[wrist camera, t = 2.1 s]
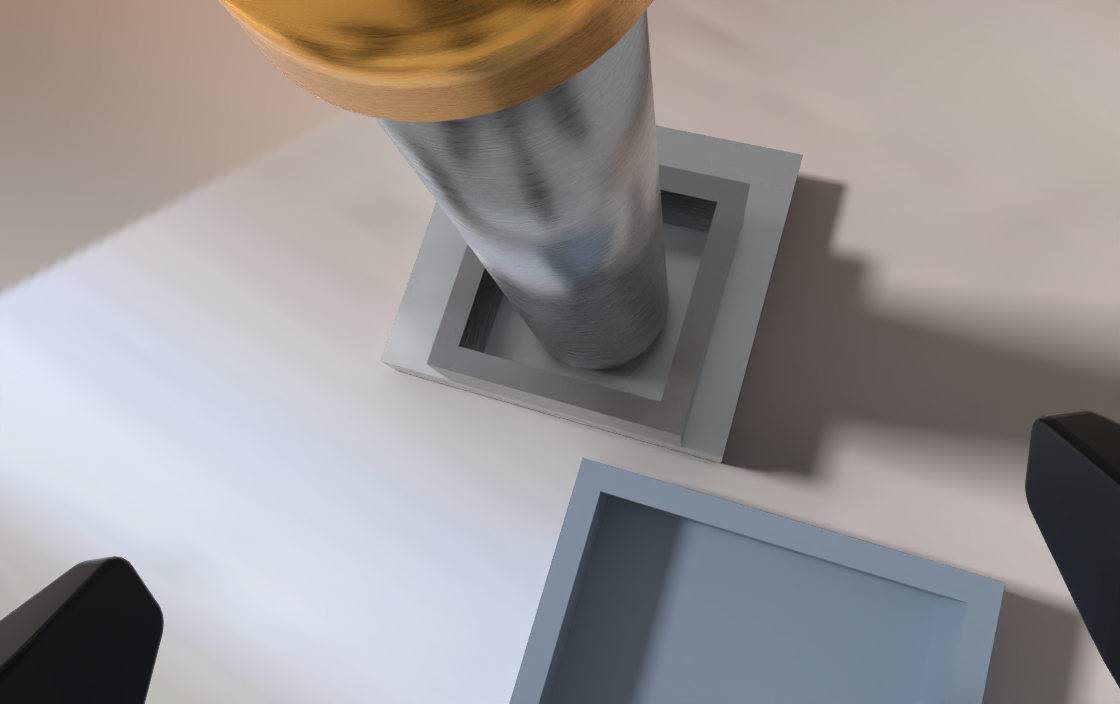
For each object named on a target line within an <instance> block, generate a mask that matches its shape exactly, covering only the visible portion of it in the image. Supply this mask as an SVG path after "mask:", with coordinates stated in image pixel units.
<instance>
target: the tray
mask: <svg viewBox="0 0 1120 704" xmlns="http://www.w3.org/2000/svg"><path fill="white" fill-rule="evenodd" d="M1004 586H1005V583H1004V582H1001V581H997V580H994V579H991V578H987V577H984V576H981V575H977V574H974V573H970V572H967V571H964V570H960V569H957V568H954V567H950V566H947V565H943V564H940V563H937V562H933V561H930V560H926V559H923V558H920V557H916V556H913V555H910V554H906V553H903V552H899V551H896V550H893V549H889V548H886V547H883V546H879V545H876V544H872V543H869V542H866V541H862V540H859V539H856V538H852V537H849V536H845V535H842V534H839V533H835V532H832V531H828V530H825V529H822V528H818V527H815V526H812V525H808V524H805V523H801V522H798V521H795V520H791V519H788V518H785V517H781V516H778V515H774V514H771V513H768V512H764V511H761V510H757V509H754V508H751V507H747V506H744V505H741V504H737V503H734V502H730V501H727V500H724V499H720V498H717V497H714V496H710V495H707V494H703V493H700V492H697V491H693V490H690V489H686V488H683V487H680V486H676V485H673V484H670V483H666V482H663V481H659V480H656V479H653V478H649V477H646V476H643V475H639V474H636V473H632V472H629V471H626V470H622V469H619V468H615V467H612V466H609V465H605V464H602V463H599V462H595V461H592V460H588V459H585V458H582V462H581V465H580V469H579V472H578V475H577V479H576V482H575V485H574V489H573V492H572V495H571V499H570V502H569V505H568V509H567V512H566V516H565V519H564V522H563V526H562V529H561V532H560V536H559V539H558V542H557V546H556V549H555V553H554V556H553V559H552V563H551V566H550V569H549V573H548V576H547V579H546V583H545V586H544V589H543V593H542V596H541V600H540V603H539V606H538V610H537V613H536V616H535V620H534V623H533V626H532V630H531V633H530V636H529V640H528V643H527V647H526V650H525V653H524V657H523V660H522V663H521V667H520V670H519V673H518V677H517V680H516V684H515V687H514V690H513V694H512V697H511V700H510V704H982V700H983V695H984V690H985V684H986V679H987V674H988V669H989V664H990V659H991V653H992V648H993V643H994V638H995V633H996V628H997V622H998V617H999V612H1000V607H1001V602H1002V597H1003V591H1004Z"/></svg>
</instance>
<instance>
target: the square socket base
mask: <svg viewBox="0 0 1120 704" xmlns="http://www.w3.org/2000/svg"><path fill="white" fill-rule="evenodd" d="M656 140H657V153H658V166H659V179H660V192H661V205H662V218H663V231H664V245H665V258H666V271H667V284H668V299H669V300H668V310H667V315H666V318H665V321H664V324H663V326H662V328H661V330H660V332H659V334H658V336H657V337H656V338H655V340H654V341H653V342H652V344H651V345H650V346H649V347H648V348H647V349H646V350H645V351H643V352H642V353H641V354H640V355H638V356H637V357H635V358H634V359H632V360H630V361H628V362H626V363H624V364H622V365H618V366H615V367H611V368H606V369H584V368H579V367H575V366H572V365H569V364H567V363H565V362H563V361H561V360H559V359H558V358H556V357H555V356H553V355H552V354H551V353H550V352H548V351H547V350H546V349H545V348H544V347H543V345H542V344H541V343H540V342H539V340H538V339H537V338H536V336H535V335H534V334H533V332H532V331H531V330H530V328H529V327H528V325H527V324H526V323H525V321H524V320H523V319H522V317H521V316H520V315H519V313H518V312H517V310H516V309H515V308H514V306H513V305H512V304H511V302H510V301H509V300H508V298H507V297H506V295H505V294H504V293H503V291H502V290H501V289H500V287H499V286H498V285H497V283H496V282H495V280H494V279H493V278H492V276H491V275H490V274H489V272H488V271H487V269H486V268H485V267H484V265H483V264H482V263H481V261H480V260H479V259H478V257H477V256H476V254H475V253H474V252H473V250H472V249H471V248H470V246H469V245H468V244H467V242H466V241H465V239H464V238H463V237H462V235H461V234H460V233H459V231H458V230H457V229H456V227H455V226H454V224H453V223H452V222H451V220H450V219H449V218H448V216H447V215H446V214H445V212H444V211H443V209H442V208H441V207H440V205H439V204H438V203H437V202H436V205H435V208H434V211H433V214H432V216H431V219H430V222H429V225H428V228H427V231H426V233H425V236H424V239H423V242H422V245H421V248H420V251H419V253H418V256H417V259H416V262H415V265H414V268H413V270H412V273H411V276H410V279H409V282H408V285H407V287H406V290H405V293H404V296H403V299H402V302H401V304H400V307H399V310H398V313H397V316H396V319H395V321H394V324H393V327H392V330H391V333H390V336H389V338H388V341H387V344H386V347H385V350H384V353H383V355H382V358H381V362H383V363H385V364H386V365H388V366H390V367H391V368H393V369H395V370H397V371H400V372H403V373H407V374H410V375H414V376H417V377H421V378H424V379H428V380H431V381H435V382H438V383H442V384H445V385H449V386H452V387H456V388H459V389H463V390H466V391H470V392H473V393H477V394H480V395H484V396H487V397H491V398H494V399H498V400H501V401H505V402H508V403H512V404H515V405H519V406H522V407H526V408H529V409H533V410H536V411H540V412H543V413H547V414H550V415H553V416H557V417H560V418H564V419H567V420H571V421H574V422H578V423H581V424H585V425H588V426H592V427H595V428H599V429H602V430H606V431H609V432H613V433H616V434H620V435H623V436H627V437H630V438H634V439H637V440H641V441H644V442H648V443H651V444H655V445H658V446H662V447H665V448H669V449H672V450H676V451H679V452H683V453H686V454H690V455H693V456H697V457H700V458H704V459H707V460H711V461H714V462H718V463H721V461H722V458H723V454H724V451H725V447H726V443H727V439H728V436H729V432H730V428H731V424H732V420H733V417H734V413H735V409H736V405H737V402H738V398H739V394H740V390H741V387H742V383H743V379H744V375H745V371H746V368H747V364H748V360H749V356H750V353H751V349H752V345H753V341H754V337H755V334H756V330H757V326H758V322H759V319H760V315H761V311H762V307H763V304H764V300H765V296H766V292H767V288H768V285H769V281H770V277H771V273H772V270H773V266H774V262H775V258H776V254H777V251H778V247H779V243H780V239H781V236H782V232H783V228H784V224H785V221H786V217H787V213H788V209H789V205H790V202H791V198H792V194H793V190H794V187H795V183H796V179H797V175H798V171H799V168H800V164H801V160H802V156H803V155H800V154H795V153H790V152H785V151H780V150H775V149H770V148H765V147H760V146H755V145H750V144H745V143H740V142H735V141H730V140H725V139H720V138H715V137H710V136H705V135H700V134H695V133H690V132H685V131H680V130H675V129H670V128H665V127H660V126H656Z"/></svg>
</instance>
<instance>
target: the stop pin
mask: <svg viewBox="0 0 1120 704" xmlns="http://www.w3.org/2000/svg"><path fill="white" fill-rule="evenodd" d="M652 1H653V0H219V2H220V3H221V4H222V5H223V6H224V7H225V8H226V9H227V11H228V12H229V13H230V14H231V15H232V17H233V18H234V19H235V20H236V21H237V22H238V23H239V25H240V26H241V27H242V28H243V29H244V30H245V32H246V33H247V34H248V35H249V36H250V37H251V39H252V40H253V41H254V42H255V43H256V44H257V46H259V48H260V49H261V50H262V51H263V52H264V54H265V55H266V56H267V57H268V58H269V59H270V61H271V62H272V63H273V64H274V65H275V66H276V67H277V68H278V69H279V70H281V71H282V72H283V73H284V74H285V75H286V76H287V77H288V78H290V79H291V80H292V81H293V82H294V83H296V84H297V85H299V86H300V87H302V88H304V89H305V90H307V91H308V92H310V93H311V94H313V95H314V96H316V97H318V98H320V99H322V100H324V101H327V102H329V103H331V104H333V105H335V106H338V107H340V108H342V109H345V110H349V111H352V112H356V113H359V114H363V115H366V116H370V117H375V118H376V119H377V121H378V122H379V123H380V125H381V126H382V128H383V129H384V130H385V132H386V133H387V134H388V136H389V137H390V138H391V140H392V141H393V143H394V144H395V145H396V147H397V148H398V149H399V151H400V152H401V153H402V155H403V156H404V158H405V159H406V160H407V162H408V163H409V164H410V166H411V167H412V168H413V170H414V171H415V173H416V174H417V175H418V177H419V178H420V179H421V181H422V182H423V184H424V185H425V186H426V188H427V189H428V190H429V192H430V193H431V194H432V196H433V197H434V199H435V200H436V201H437V203H438V204H439V205H440V207H441V208H442V209H443V211H444V212H445V214H446V215H447V216H448V218H449V219H450V220H451V222H452V223H453V224H454V226H455V227H456V229H457V230H458V231H459V233H460V234H461V235H462V237H463V238H464V239H465V241H466V242H467V244H468V245H469V246H470V248H471V249H472V250H473V252H474V253H475V254H476V256H477V257H478V259H479V260H480V261H481V263H482V264H483V265H484V267H485V268H486V269H487V271H488V272H489V274H490V275H491V276H492V278H493V279H494V280H495V282H496V283H497V285H498V286H499V287H500V289H501V290H502V291H503V293H504V294H505V295H506V297H507V298H508V300H509V301H510V302H511V304H512V305H513V306H514V308H515V309H516V310H517V312H518V313H519V315H520V316H521V317H522V319H523V320H524V321H525V323H526V324H527V325H528V327H529V328H530V330H531V331H532V332H533V334H534V335H535V336H536V338H537V339H538V340H539V342H540V343H541V344H542V345H543V347H544V348H545V349H546V350H547V351H548V352H550V353H551V354H552V355H553V356H555V357H556V358H558V359H559V360H561V361H563V362H565V363H567V364H569V365H572V366H575V367H579V368H584V369H606V368H611V367H615V366H618V365H622V364H624V363H626V362H628V361H630V360H632V359H634V358H635V357H637V356H638V355H640V354H641V353H642V352H643V351H645V350H646V349H647V348H648V347H649V346H650V345H651V344H652V342H653V341H654V340H655V338H656V337H657V336H658V334H659V332H660V330H661V328H662V326H663V324H664V321H665V318H666V315H667V310H668V300H669V299H668V284H667V271H666V258H665V245H664V231H663V218H662V205H661V192H660V179H659V166H658V153H657V140H656V126H655V113H654V100H653V87H652V74H651V61H650V48H649V34H648V21H647V8H648V7H649V5H650V4H651V3H652Z"/></svg>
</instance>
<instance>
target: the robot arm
mask: <svg viewBox="0 0 1120 704" xmlns="http://www.w3.org/2000/svg"><path fill="white" fill-rule="evenodd" d="M1025 491H1026V497H1027V502H1028V505H1029V508H1030V510H1031V512H1032V515H1033V517H1034V519H1035V521H1036V523H1037V525H1038V527H1039V529H1040V531H1041V533H1042V535H1043V538H1044V540H1045V542H1046V544H1047V546H1048V548H1049V550H1050V552H1051V554H1052V556H1053V558H1054V560H1055V563H1056V565H1057V567H1058V569H1059V571H1060V573H1061V575H1062V577H1063V579H1064V581H1065V583H1066V585H1067V588H1068V590H1069V592H1070V594H1071V596H1072V598H1073V600H1074V602H1075V604H1076V606H1077V608H1078V610H1079V613H1080V615H1081V617H1082V619H1083V621H1084V623H1085V625H1086V627H1087V629H1088V631H1089V633H1090V635H1091V637H1092V639H1093V641H1094V643H1095V645H1096V647H1097V649H1098V651H1099V653H1100V655H1101V657H1102V659H1103V661H1104V662H1105V664H1106V666H1107V668H1108V669H1109V671H1110V673H1111V674H1112V676H1113V678H1114V679H1115V681H1116V683H1117V685H1118V686H1119V688H1120V423H1118V422H1116V421H1113V420H1111V419H1109V418H1106V417H1104V416H1102V415H1099V414H1097V413H1094V412H1092V411H1089V410H1074V411H1067V412H1061V413H1054V414H1048V415H1043V416H1041V417H1039V418H1038V419H1037V420H1036V421H1035V423H1034V425H1033V428H1032V431H1031V439H1030V447H1029V456H1028V464H1027V472H1026V480H1025ZM163 624H164V621H163V614H162V611H161V608H160V606H159V604H158V603H157V601H156V600H155V598H154V597H153V595H152V594H151V592H150V591H149V590H148V588H147V587H146V585H145V584H144V582H143V581H142V579H141V578H140V576H139V575H138V573H137V572H136V570H135V569H134V567H133V566H132V565H131V563H130V562H129V561H127V560H125V559H124V558H122V557H116V556H114V557H107V558H100V559H93V560H88V561H84V562H81V563H79V564H77V565H75V566H74V567H72V568H71V569H70V570H68V571H67V572H66V573H64V574H63V575H62V576H60V577H59V578H57V579H56V580H55V581H53V582H52V583H51V584H49V585H48V586H47V587H45V588H44V589H43V590H41V591H40V592H38V593H37V594H36V595H34V596H33V597H32V598H30V599H29V600H28V601H26V602H25V603H24V604H22V605H21V606H19V607H18V608H17V609H15V610H14V611H13V612H11V613H10V614H9V615H7V616H6V617H5V618H3V619H2V620H1V621H0V704H145V700H146V696H147V692H148V688H149V685H150V681H151V677H152V673H153V669H154V665H155V661H156V657H157V653H158V649H159V645H160V642H161V638H162V634H163Z"/></svg>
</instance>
